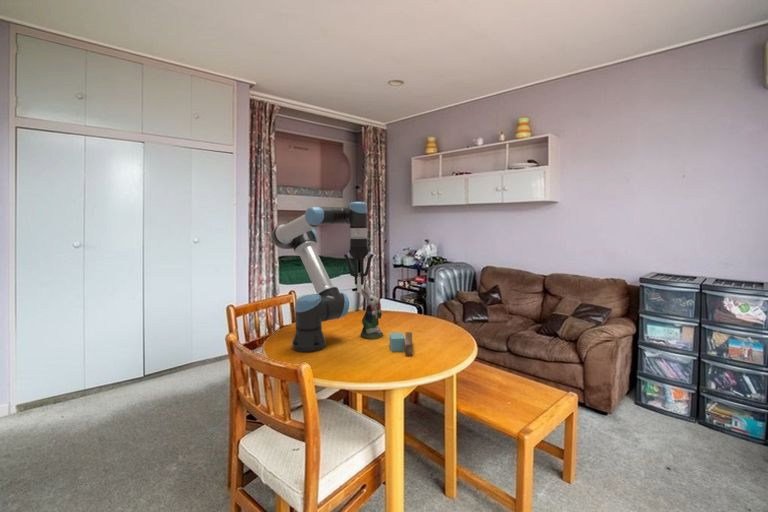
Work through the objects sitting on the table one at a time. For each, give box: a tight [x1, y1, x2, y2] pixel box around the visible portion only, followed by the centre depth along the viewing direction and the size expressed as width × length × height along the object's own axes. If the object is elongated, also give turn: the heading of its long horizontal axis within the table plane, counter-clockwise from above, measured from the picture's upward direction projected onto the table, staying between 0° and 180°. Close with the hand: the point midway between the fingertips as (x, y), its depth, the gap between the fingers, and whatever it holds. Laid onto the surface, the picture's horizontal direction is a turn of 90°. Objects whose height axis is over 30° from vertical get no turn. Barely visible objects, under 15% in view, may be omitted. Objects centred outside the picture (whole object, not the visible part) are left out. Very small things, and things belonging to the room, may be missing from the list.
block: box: [389, 332, 406, 353], centre depth 178 cm, size 6×9×6 cm, turn 4°
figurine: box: [360, 285, 384, 340], centre depth 195 cm, size 11×13×25 cm
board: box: [404, 331, 413, 357], centre depth 177 cm, size 3×18×5 cm, turn 176°
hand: (359, 291), depth 173 cm, fingers closed
